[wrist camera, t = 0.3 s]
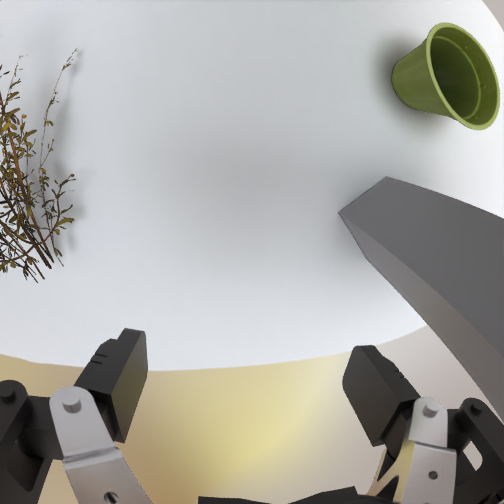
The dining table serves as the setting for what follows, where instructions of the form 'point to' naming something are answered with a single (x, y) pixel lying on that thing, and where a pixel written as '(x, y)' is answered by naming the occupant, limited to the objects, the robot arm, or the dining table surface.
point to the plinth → (441, 269)
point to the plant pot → (450, 78)
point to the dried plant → (20, 183)
